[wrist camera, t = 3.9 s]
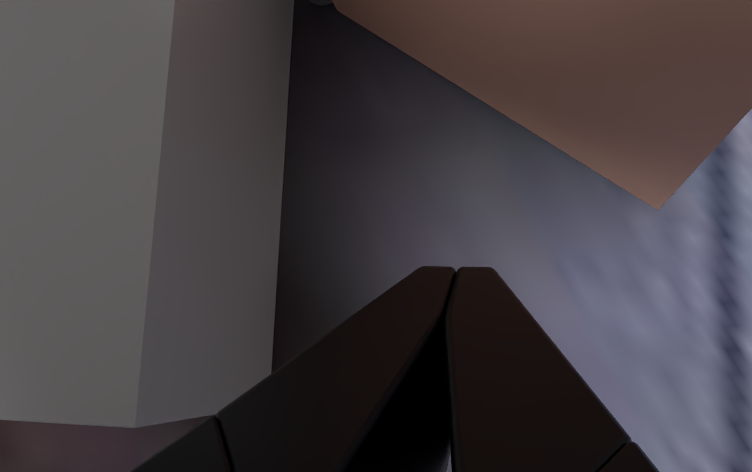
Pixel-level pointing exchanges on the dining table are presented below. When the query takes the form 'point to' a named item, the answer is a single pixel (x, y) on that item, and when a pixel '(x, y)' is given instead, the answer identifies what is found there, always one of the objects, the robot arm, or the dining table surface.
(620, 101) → the side door
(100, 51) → the case
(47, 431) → the dining table surface
